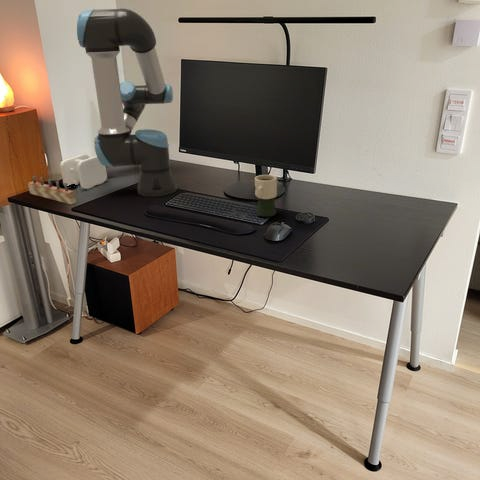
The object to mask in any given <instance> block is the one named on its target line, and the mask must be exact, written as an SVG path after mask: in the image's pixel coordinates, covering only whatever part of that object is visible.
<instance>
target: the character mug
mask: <svg viewBox="0 0 480 480" xmlns="http://www.w3.org/2000/svg"><path fill="white" fill-rule="evenodd" d="M277 183H278V180H277V176H276V175H272V174H260V175H257V176H255V177H254V187H255V189H254V190H255V193H254V195H255V197H256V198H258V201H257V206H256V207H257V208H256V216H259V217H273V216H275V215H276V205H275V199H274V198H276V197H277V194H278V188H277V187H278V184H277Z"/></svg>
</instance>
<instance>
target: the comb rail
mask: <svg viewBox="0 0 480 480" xmlns="http://www.w3.org/2000/svg"><path fill="white" fill-rule="evenodd" d="M31 177H32V181H30V182H27V185H28V190H29V194H31V195H34V196H37V197H42V198H45V199H49V200H53V201H57V202H60V203H64V204H68V205H74V204H77V203H78V201H77V197H76V192H75V190H71V189H69V187H67V183H64V184H63V186H64V188H61V187H60V183H59V180H56V181H55V185H56V186H54V185H52V180H51V179H50V178H48V179H47V184H46V183H44V179H43V176H40V177H39V182H37V180H36V176H35V175H32V176H31Z"/></svg>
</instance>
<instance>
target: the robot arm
mask: <svg viewBox="0 0 480 480" xmlns="http://www.w3.org/2000/svg"><path fill="white" fill-rule="evenodd" d="M76 35H77V41H78V44H79V47H81V48H83V49H85V54H86V55H87V56H89V57H90V59H91V64H92V70H93V71H92V72H93V79H94V84H95V93H96V98H97V105H98V112H99V118H100V126H101V127H100V128H99V129H98V131H97V133H98V134H97V135H96V136H95V137H94V140H93V141H94V152H95V156H97V158H98V160H99V161H100V163H101V164H102V165H104V166H105V167H106V169H107V168H108V167H113V168H116V167H132V166H133V167H134V166H135V167H136V166H137V167H139V178H138V184H137V188H136V189H137V193H138V195H139V196H143V197H149V198H152V197H153V198H157V197H164V196H169V195H172V194H173V193H176V192H177V190H178V188H177V187H178V185H177V183H176V181H175V178H174V175H173V173H172V170H171V161H170V159H171V158H170V150H169V148H170V147H169V146H170V145H169V141H168V137H167V136H168V135H167V134H166V133H165V132H163V131H160V130H157V129H147V128H145V129H137V130H136V131H135V133H134V134H132V131H133V130H134V128H135V126H136V124H137V122H138V120H139V119H140V117H141V114H142V113H143V111H144V109H145V107H146V105H154V104H155V105H157V104H158V105H159V104H162V105H164V104H171V103H172V102H173V100H174V98H173V97H174V92H173V87H172V85H171V84H166V83H165V78H164V74H163V72H162V71H163V70H162V68H161V64H160V60H159V57H158V53H157V49H156V46H157V40H156V36H155V32H154V31H153V28H152V27H151V26H150V24H149V23H148V22H147V21H146V19H144V18H143V17H142V16H141V15H139V14H138V13H137V12H135V11H133V10H131V9H128V8H114V9H112V8H110V9H109V8H108V9H107V8H106V9H101V8H100V9H95V8H93V9H88V10H87V9H86V10H83V11H81V12H80V13H79V15H78V17H77V22H76ZM123 46H129V48H130V50H132V52H134V53H135V56H136V59H137V63H138V66H139V68H140V71H141V74H142V77H143V80H144V82H145V85H134V82H132V81H129V80H125V81H122V82H120V75H119V67H118V60H117V59H118V58H117V57H118V55H119V54H120V52H121V49H120V48H121V47H123Z"/></svg>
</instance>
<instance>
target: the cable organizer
mask: <svg viewBox="0 0 480 480" xmlns="http://www.w3.org/2000/svg"><path fill="white" fill-rule="evenodd" d="M59 168H60V173H61V179H62V184H63V185H64V183H67V186H69V185H71V184H75V185H77V186H78V185H80V187H81V188H82V189H86V190H90V189H91V188H94V187H95V186H97V185H98V186H99V185H101V184H104V182H106V180H107V179H108V174H107V168H106V167H105V166H104V165H102V164H101V163H100V161H99V160H98V158H97V155H94V156H92V157H90V156H89V155H88V154H83V153H82V154H79V155H75V156H73V157H70V158H65V159H64V160H62V161H61V162H60V163H59Z"/></svg>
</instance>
